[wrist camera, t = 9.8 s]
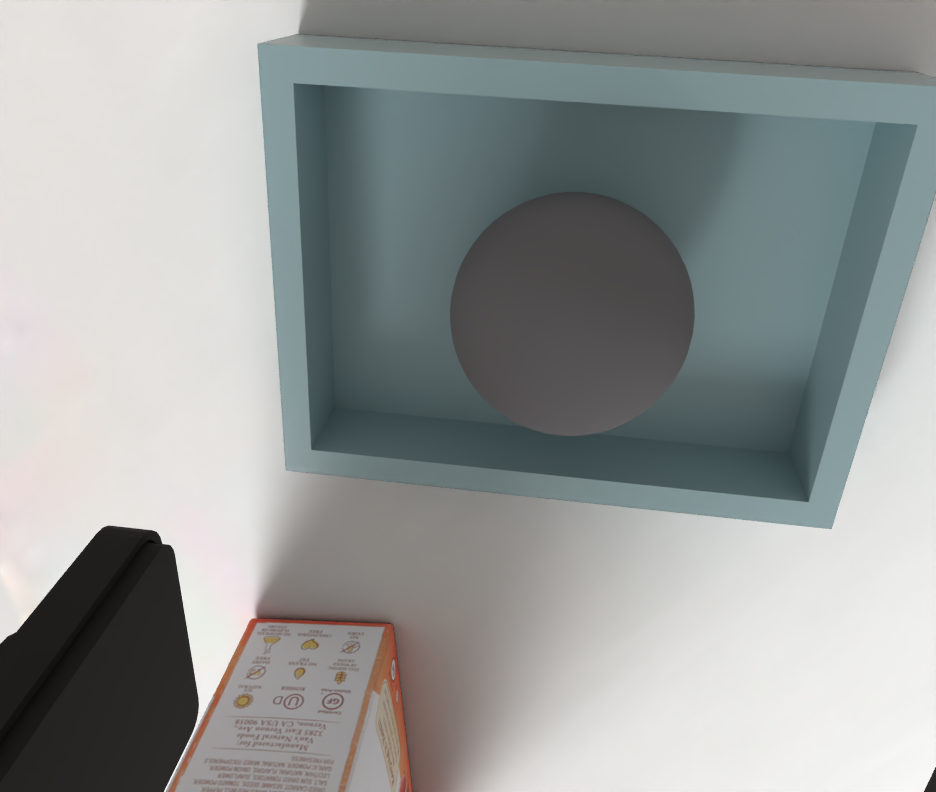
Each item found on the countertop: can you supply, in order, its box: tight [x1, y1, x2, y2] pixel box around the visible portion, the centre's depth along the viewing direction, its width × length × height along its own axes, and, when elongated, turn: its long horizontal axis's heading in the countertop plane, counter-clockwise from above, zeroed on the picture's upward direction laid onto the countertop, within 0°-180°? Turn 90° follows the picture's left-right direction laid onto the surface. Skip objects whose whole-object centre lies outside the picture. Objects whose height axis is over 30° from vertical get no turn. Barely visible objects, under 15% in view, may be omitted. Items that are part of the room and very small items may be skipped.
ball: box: [450, 192, 695, 436], centre depth 21 cm, size 6×6×6 cm
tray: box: [257, 34, 936, 529], centre depth 22 cm, size 15×18×3 cm
